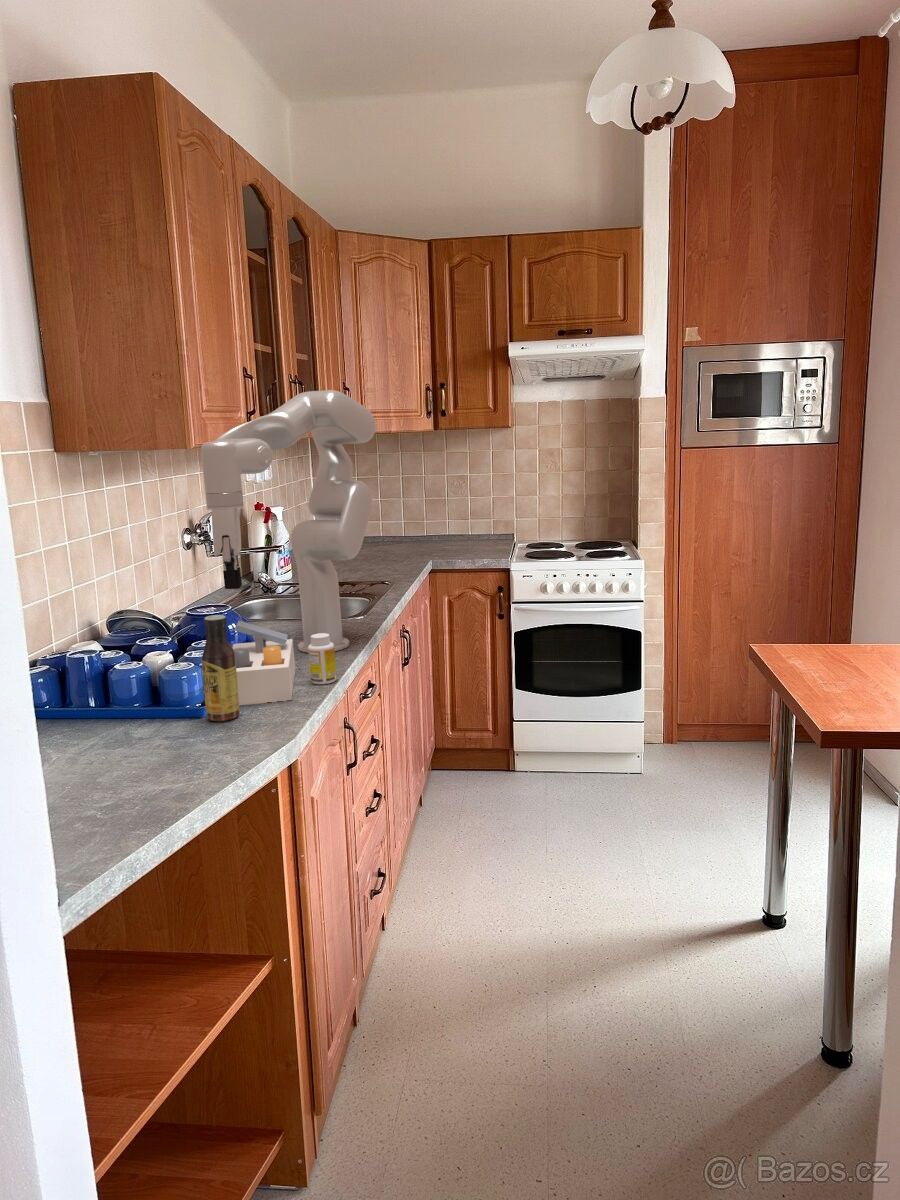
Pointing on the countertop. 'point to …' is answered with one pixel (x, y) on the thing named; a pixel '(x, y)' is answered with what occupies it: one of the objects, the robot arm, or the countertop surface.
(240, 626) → the rocker
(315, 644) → the supplement bottle
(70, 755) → the countertop surface
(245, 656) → the button charcoal
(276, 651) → the button orange
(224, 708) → the sauce bottle
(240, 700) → the panel
